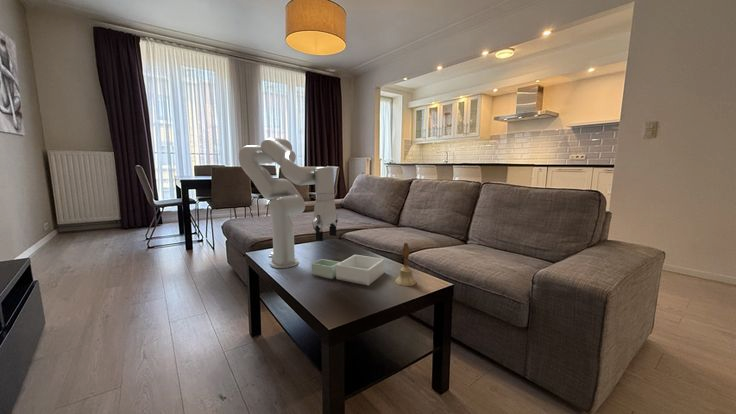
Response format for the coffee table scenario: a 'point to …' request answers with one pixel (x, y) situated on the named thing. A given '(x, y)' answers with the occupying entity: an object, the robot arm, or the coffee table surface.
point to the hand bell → (405, 270)
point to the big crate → (360, 269)
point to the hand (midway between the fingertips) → (326, 238)
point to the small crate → (324, 268)
